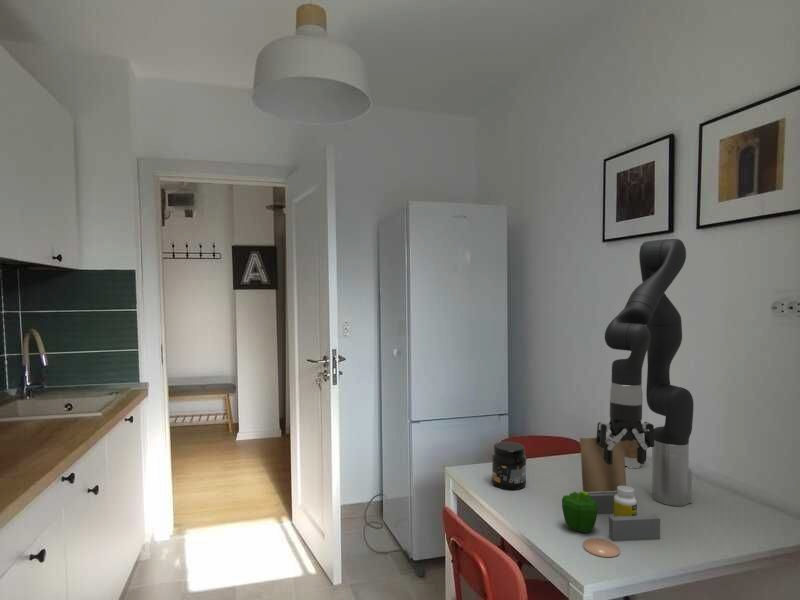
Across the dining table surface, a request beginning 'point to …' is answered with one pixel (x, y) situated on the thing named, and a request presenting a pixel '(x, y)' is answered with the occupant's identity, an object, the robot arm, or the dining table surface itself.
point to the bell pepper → (579, 511)
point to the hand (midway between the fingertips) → (624, 463)
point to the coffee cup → (631, 452)
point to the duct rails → (626, 521)
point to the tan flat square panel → (601, 467)
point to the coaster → (601, 547)
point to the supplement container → (509, 465)
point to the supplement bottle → (625, 502)
